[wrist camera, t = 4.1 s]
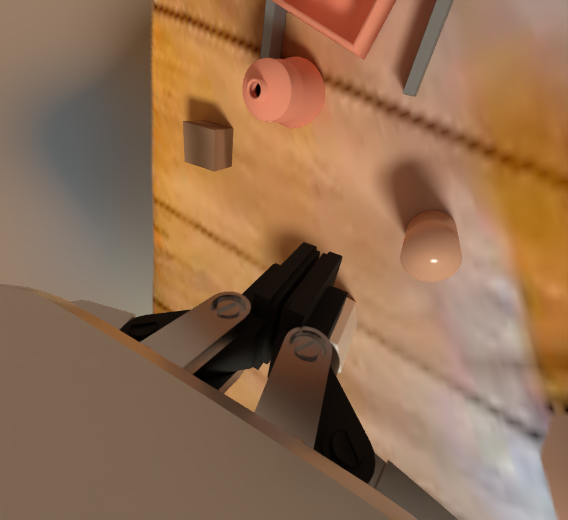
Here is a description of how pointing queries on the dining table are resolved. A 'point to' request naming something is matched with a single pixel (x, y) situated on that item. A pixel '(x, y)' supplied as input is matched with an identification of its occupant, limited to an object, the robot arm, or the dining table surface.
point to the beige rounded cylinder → (431, 247)
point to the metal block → (208, 144)
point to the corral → (274, 38)
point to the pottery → (301, 72)
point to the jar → (343, 335)
